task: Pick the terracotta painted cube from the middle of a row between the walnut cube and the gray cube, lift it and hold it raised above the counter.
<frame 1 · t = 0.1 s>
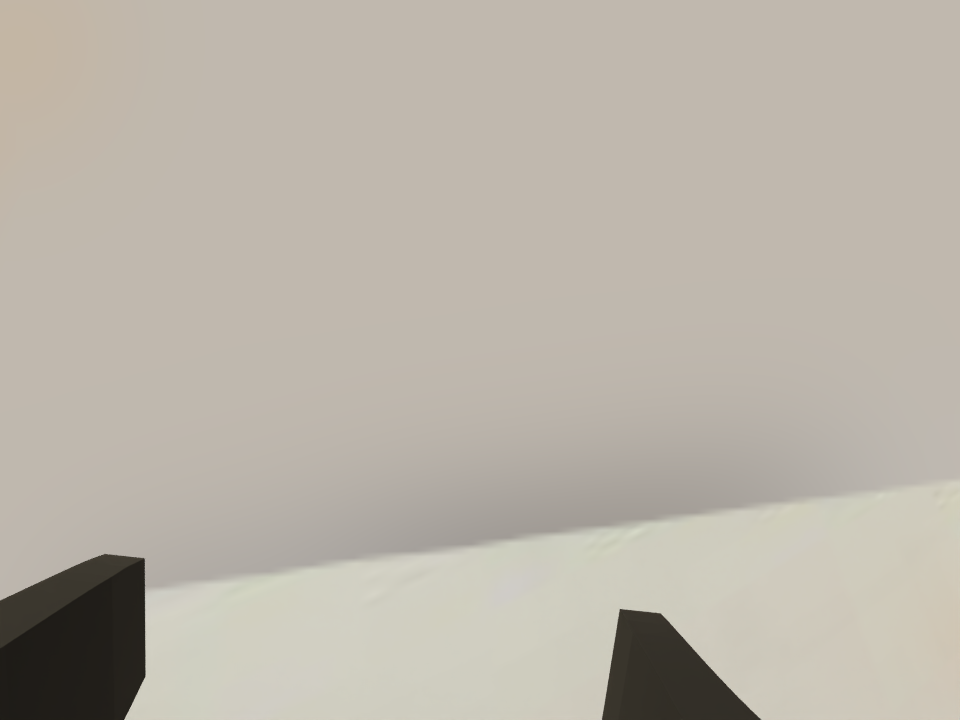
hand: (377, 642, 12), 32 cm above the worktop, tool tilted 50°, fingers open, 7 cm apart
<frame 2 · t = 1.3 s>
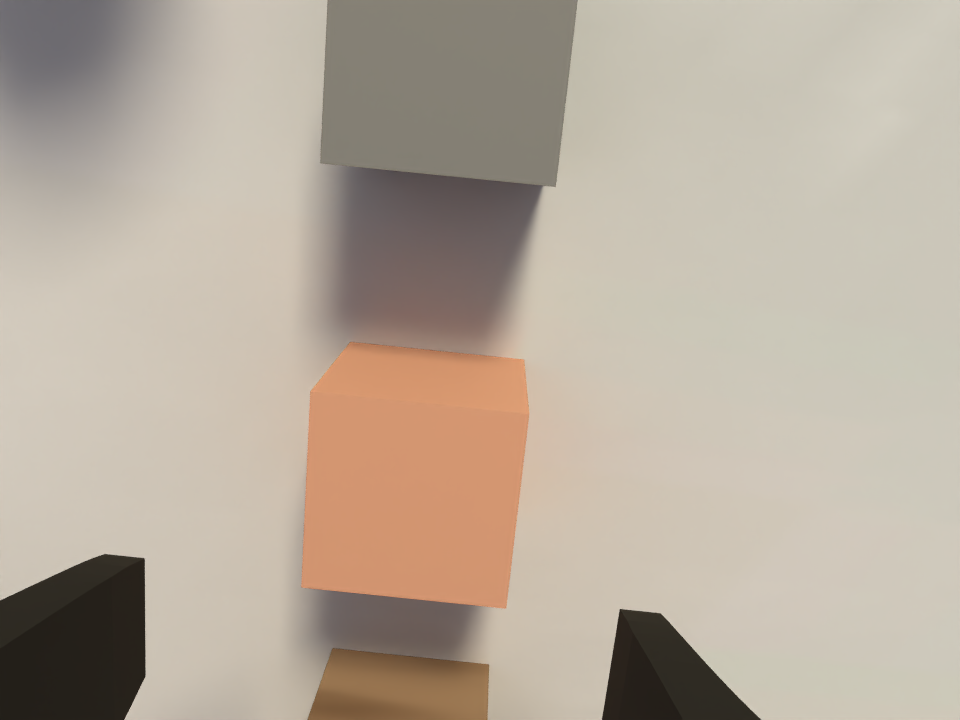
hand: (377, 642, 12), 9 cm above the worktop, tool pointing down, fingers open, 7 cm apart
gray cube: (461, 73, 19), on the worktop
terracotta cube: (430, 431, 21), on the worktop
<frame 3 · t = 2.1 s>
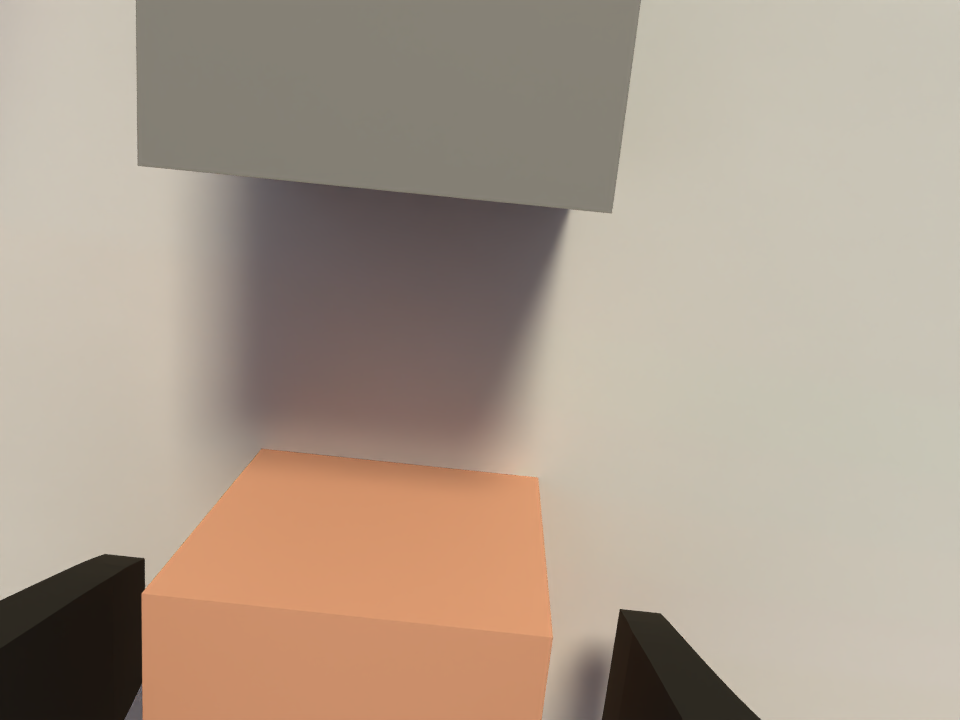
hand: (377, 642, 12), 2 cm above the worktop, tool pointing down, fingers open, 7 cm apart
gray cube: (435, 13, 11), on the worktop
terracotta cube: (390, 584, 14), on the worktop
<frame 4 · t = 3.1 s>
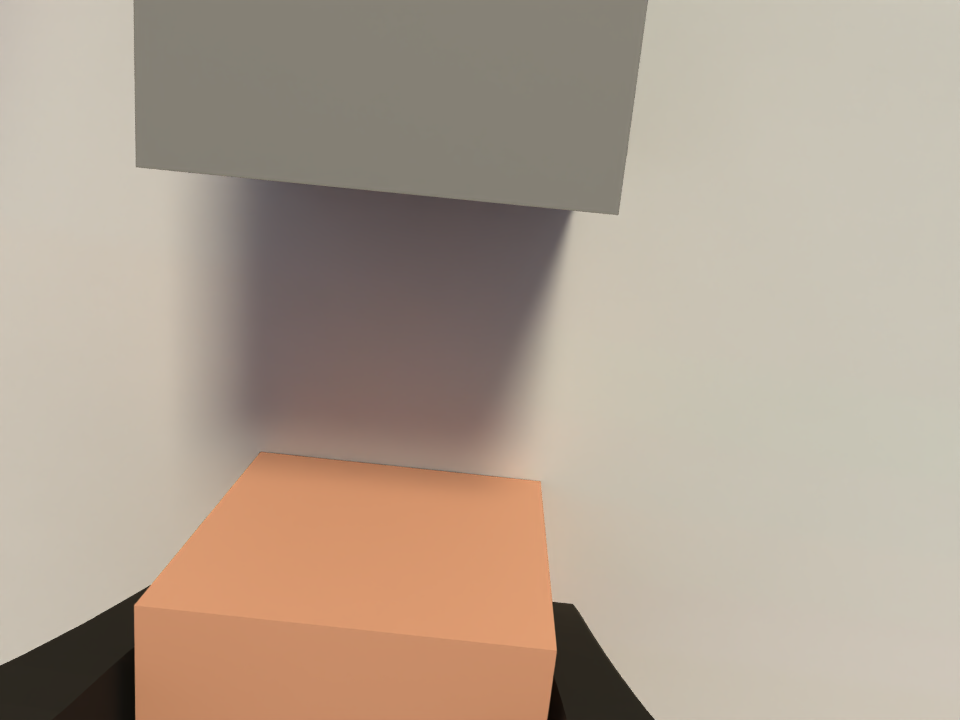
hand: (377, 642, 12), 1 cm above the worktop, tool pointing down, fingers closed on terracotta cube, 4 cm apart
gray cube: (437, 11, 11), on the worktop
terracotta cube: (390, 591, 13), on the worktop, touching gripper
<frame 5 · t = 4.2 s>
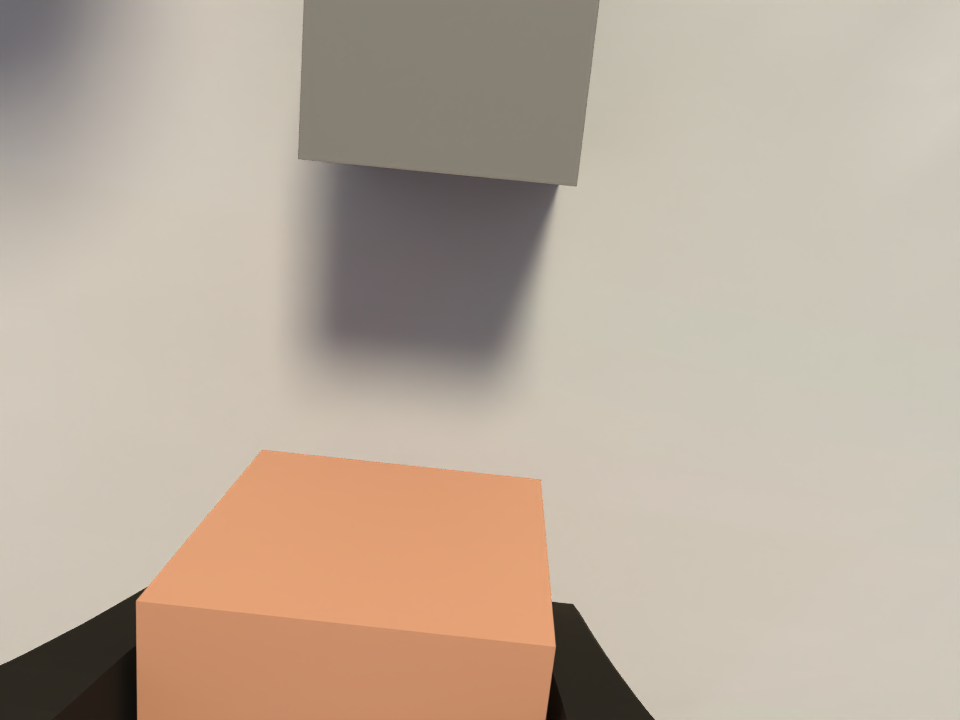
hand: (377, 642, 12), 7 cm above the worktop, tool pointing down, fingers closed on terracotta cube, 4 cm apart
gray cube: (465, 56, 17), on the worktop
terracotta cube: (391, 589, 13), point 6 cm above the worktop, touching gripper
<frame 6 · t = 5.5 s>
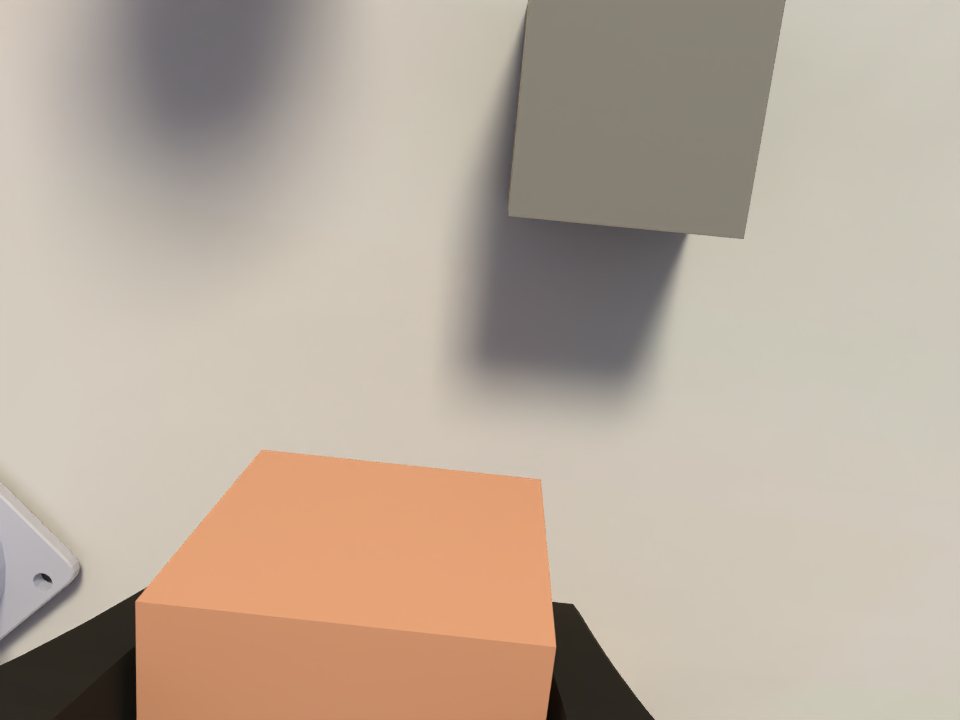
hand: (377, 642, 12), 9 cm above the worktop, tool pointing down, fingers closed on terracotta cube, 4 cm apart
gray cube: (611, 114, 19), on the worktop
terracotta cube: (391, 589, 13), point 8 cm above the worktop, touching gripper
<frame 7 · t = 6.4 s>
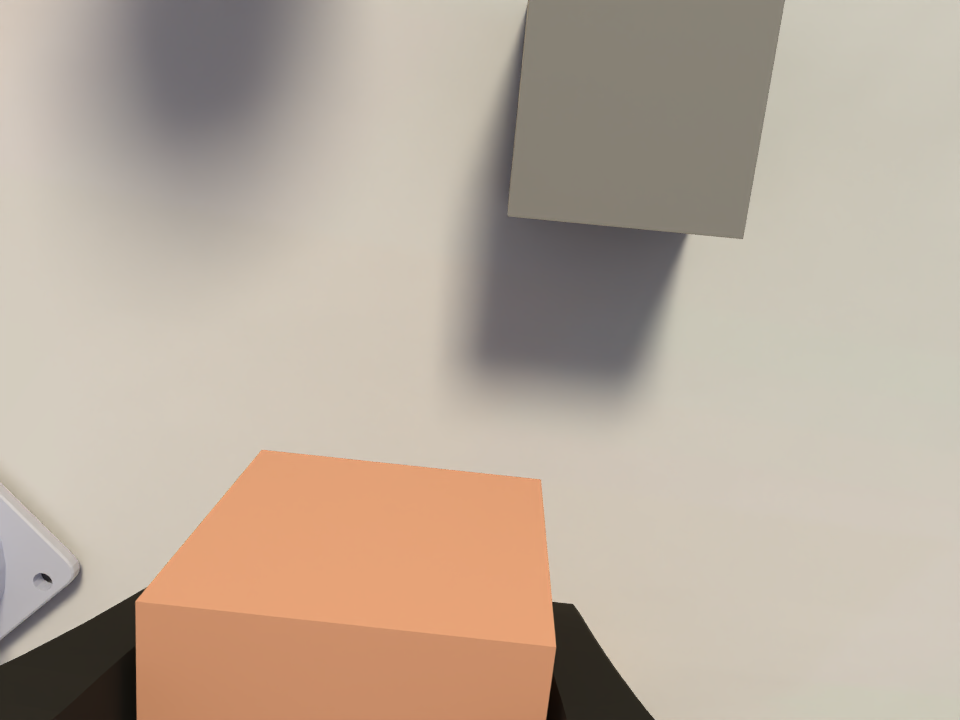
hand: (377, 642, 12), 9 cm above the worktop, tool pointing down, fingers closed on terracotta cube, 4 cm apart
gray cube: (611, 114, 19), on the worktop
terracotta cube: (391, 589, 13), point 8 cm above the worktop, touching gripper
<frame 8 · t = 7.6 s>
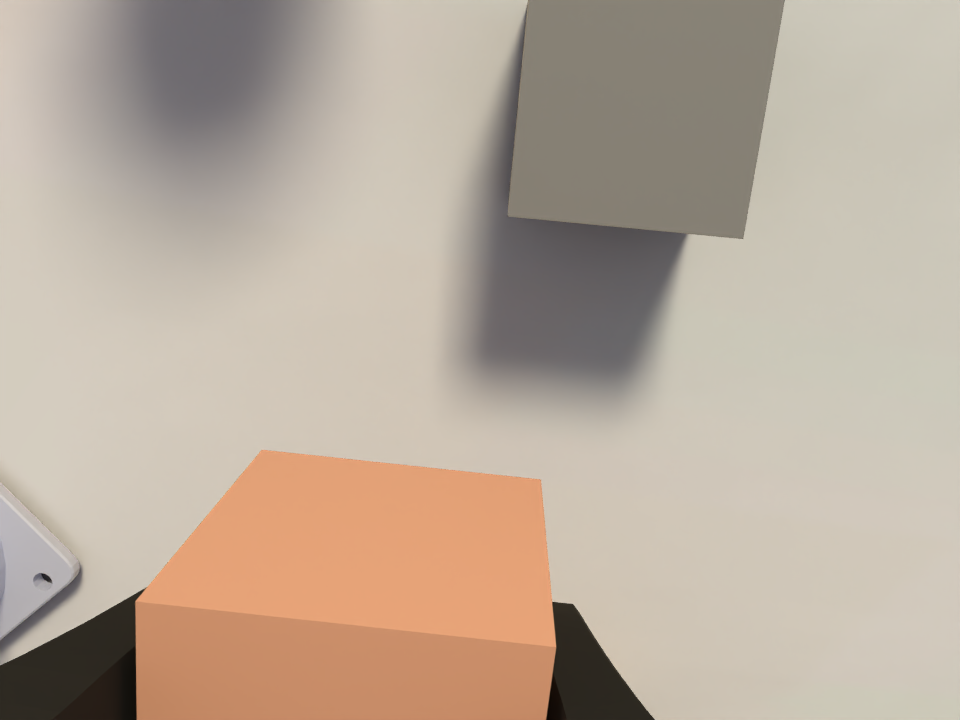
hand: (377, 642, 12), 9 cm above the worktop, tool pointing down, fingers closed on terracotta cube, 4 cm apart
gray cube: (611, 114, 19), on the worktop
terracotta cube: (391, 589, 13), point 8 cm above the worktop, touching gripper
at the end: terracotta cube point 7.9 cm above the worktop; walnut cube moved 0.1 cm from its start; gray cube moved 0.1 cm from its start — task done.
